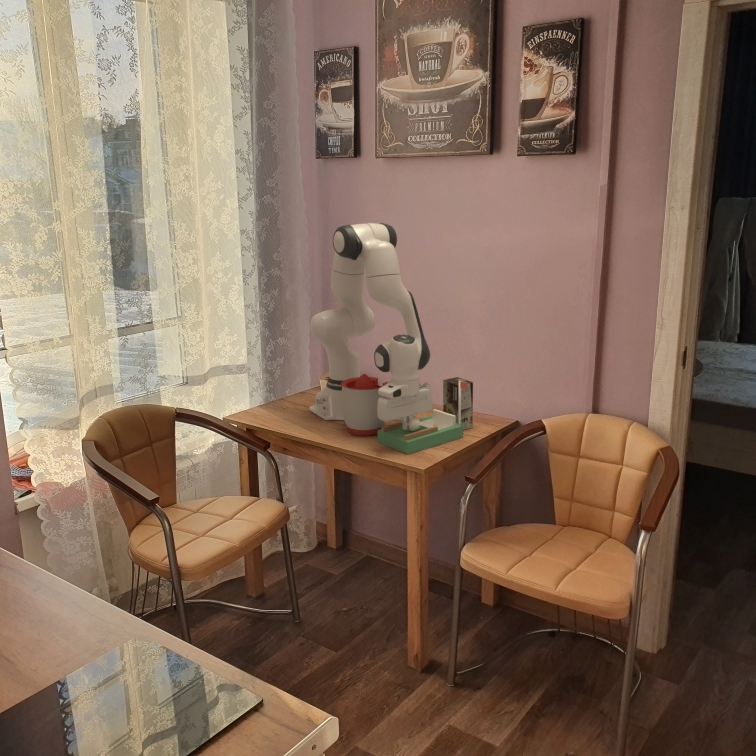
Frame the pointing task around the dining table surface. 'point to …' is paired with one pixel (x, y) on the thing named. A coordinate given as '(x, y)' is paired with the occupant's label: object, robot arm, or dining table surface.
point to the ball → (414, 424)
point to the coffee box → (453, 397)
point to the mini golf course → (424, 431)
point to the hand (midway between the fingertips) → (406, 429)
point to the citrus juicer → (361, 405)
